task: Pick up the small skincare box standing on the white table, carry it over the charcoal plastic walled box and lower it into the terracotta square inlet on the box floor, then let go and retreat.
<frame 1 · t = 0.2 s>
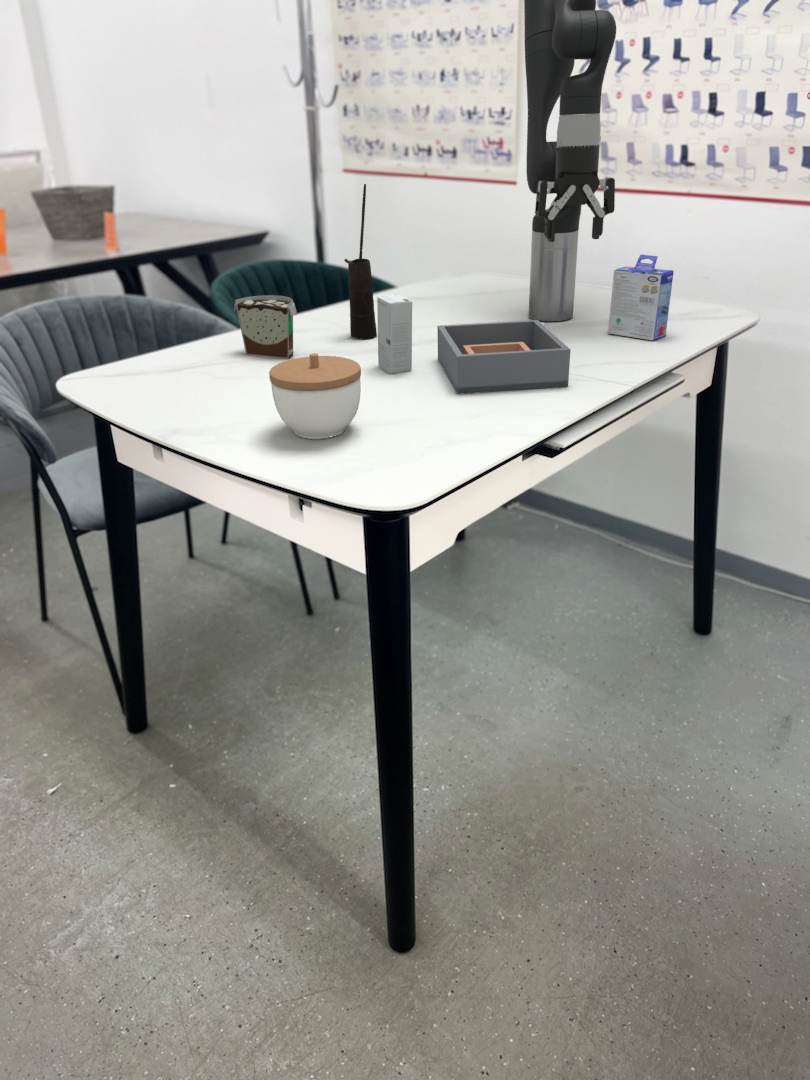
hand: (573, 240, 153), 17 cm above the table, tool pointing down, fingers open, 8 cm apart
food container: (276, 353, 155), on the table
walled box: (499, 372, 140), on the table
butter churn: (358, 337, 164), on the table
lidded bowl: (320, 431, 118), on the table
ink cartridge box: (636, 336, 159), on the table
skincare box: (396, 369, 144), on the table
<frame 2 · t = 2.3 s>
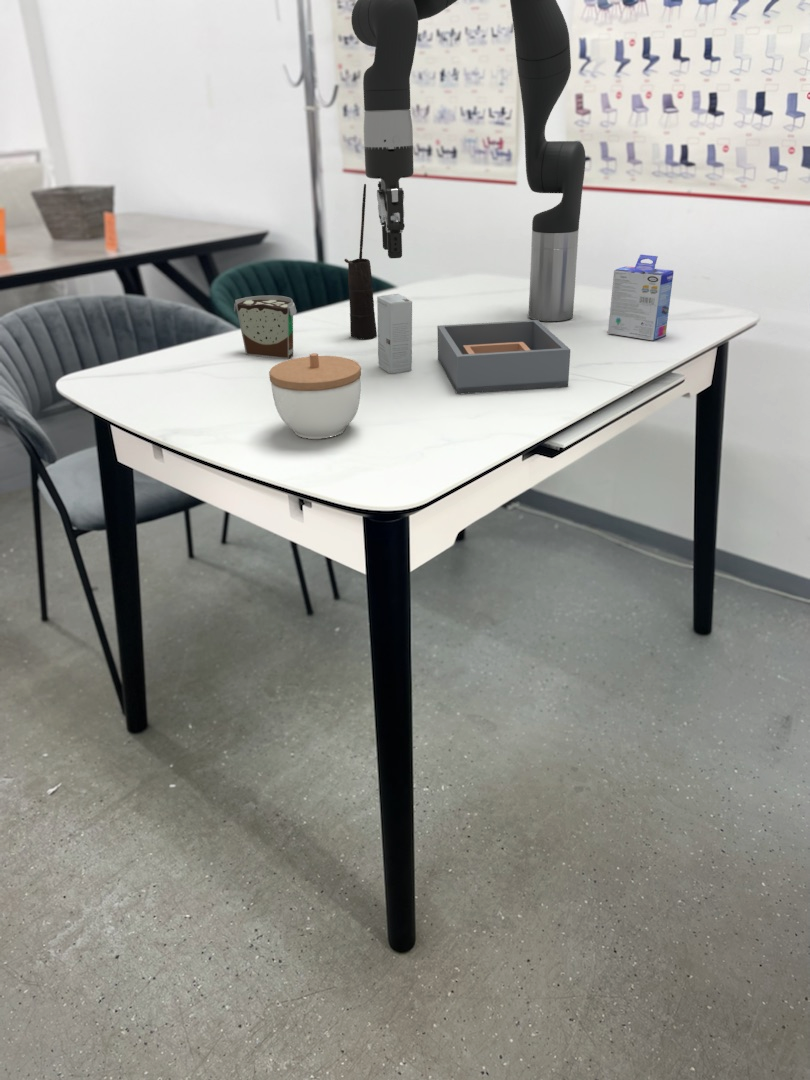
hand: (392, 253, 135), 19 cm above the table, tool pointing down, fingers open, 8 cm apart
nothing on the table moved.
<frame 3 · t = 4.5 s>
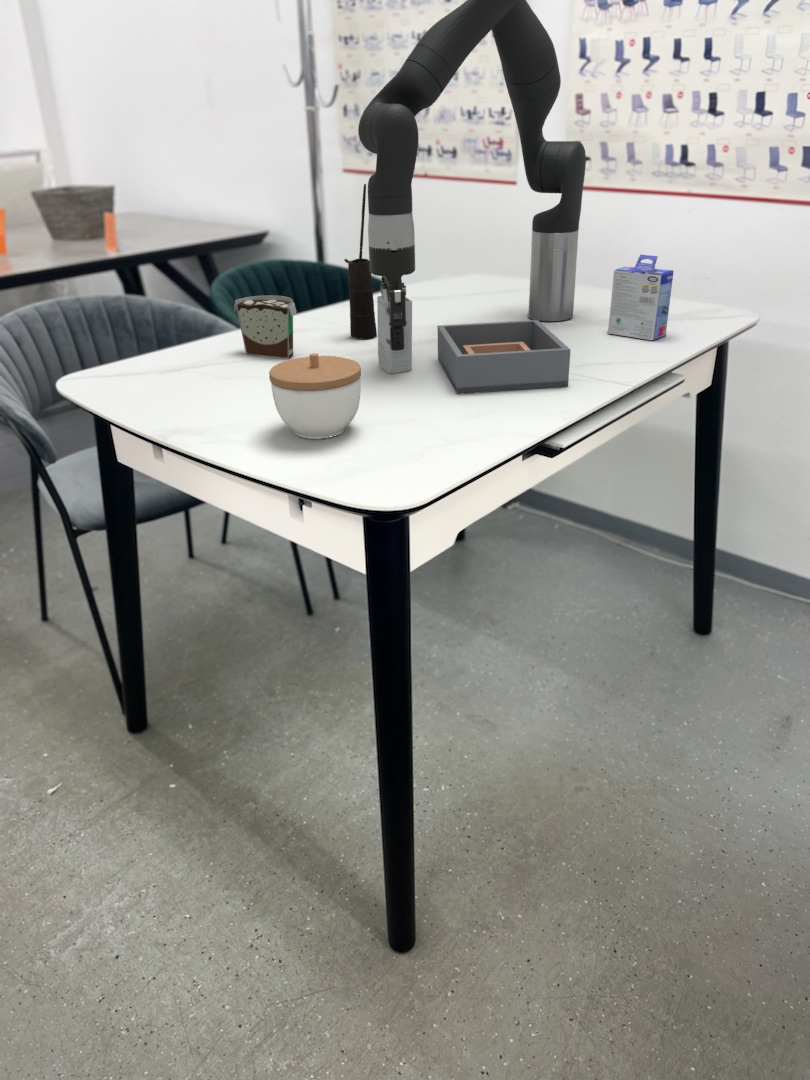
hand: (395, 343, 142), 4 cm above the table, tool pointing down, fingers closed on skincare box, 6 cm apart
skincare box: (396, 369, 144), on the table, touching gripper
everything else where it was.
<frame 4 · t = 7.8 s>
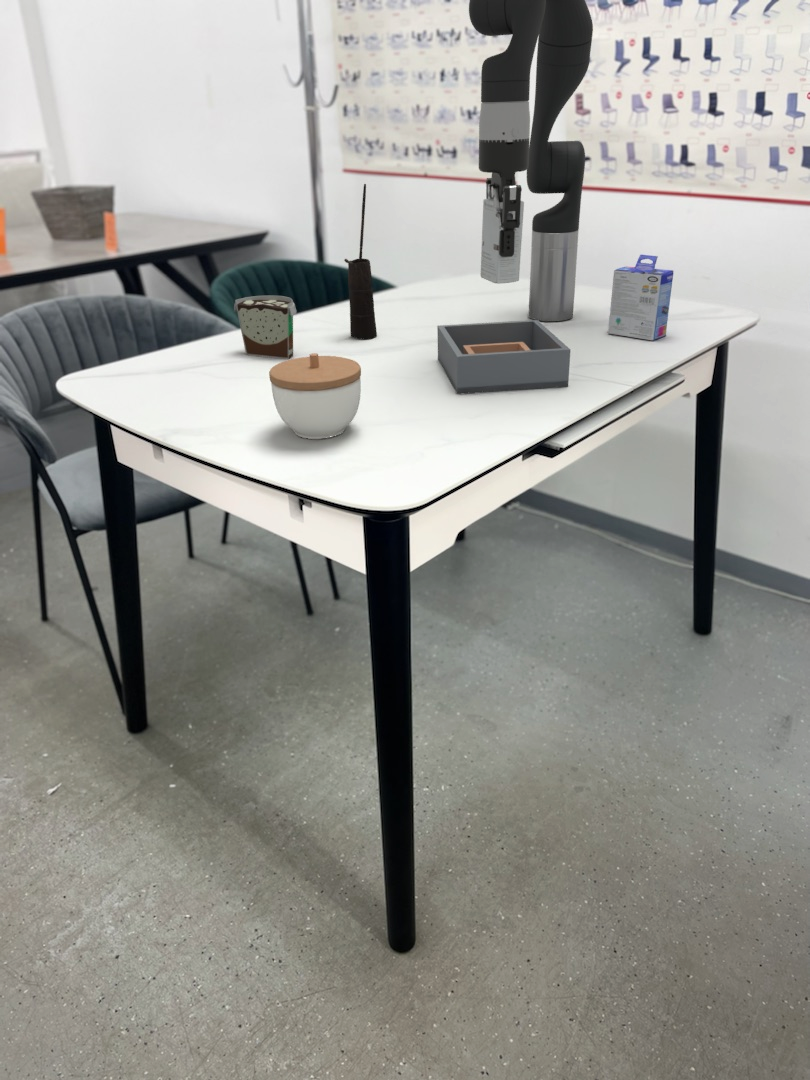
hand: (501, 252, 131), 19 cm above the table, tool pointing down, fingers closed on skincare box, 6 cm apart
skincare box: (500, 281, 133), point 15 cm above the table, touching gripper
everything else where it was.
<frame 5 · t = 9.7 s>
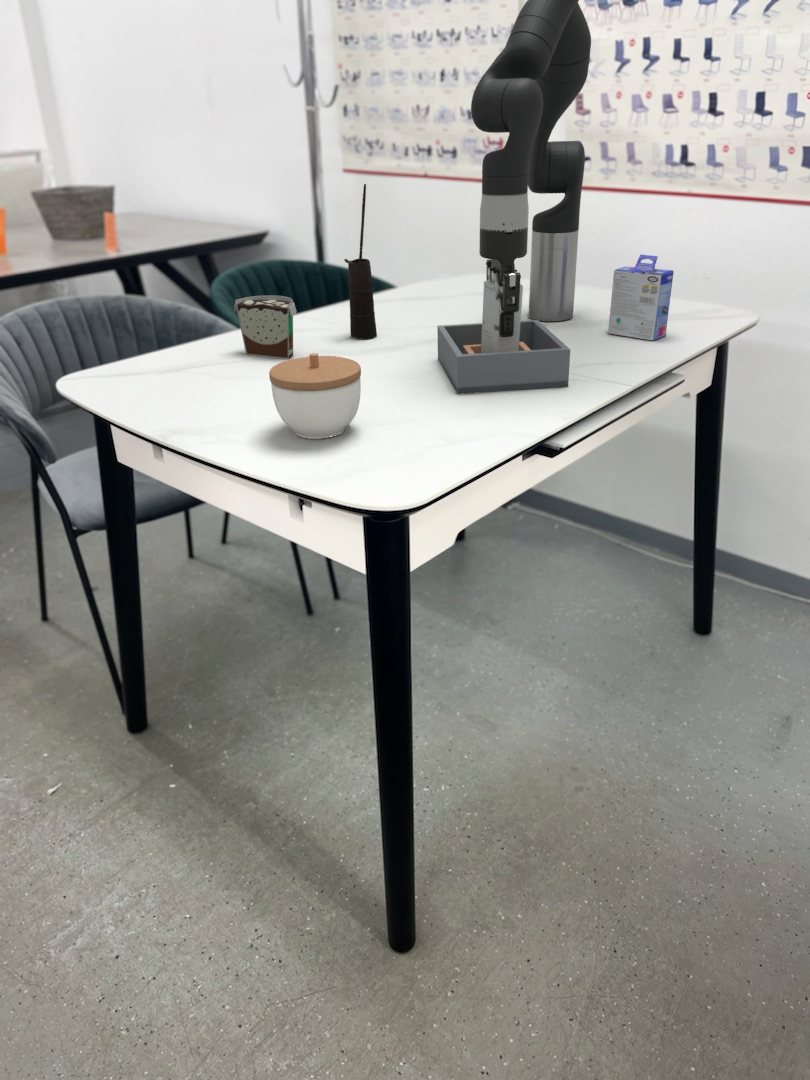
hand: (501, 330, 137), 7 cm above the table, tool pointing down, fingers closed on skincare box, 6 cm apart
skincare box: (500, 357, 139), point 3 cm above the table, touching gripper
everything else where it was.
when the fingers open (6 cm above the table, at t = 11.2 s): skincare box stays where it is, resting on walled box.
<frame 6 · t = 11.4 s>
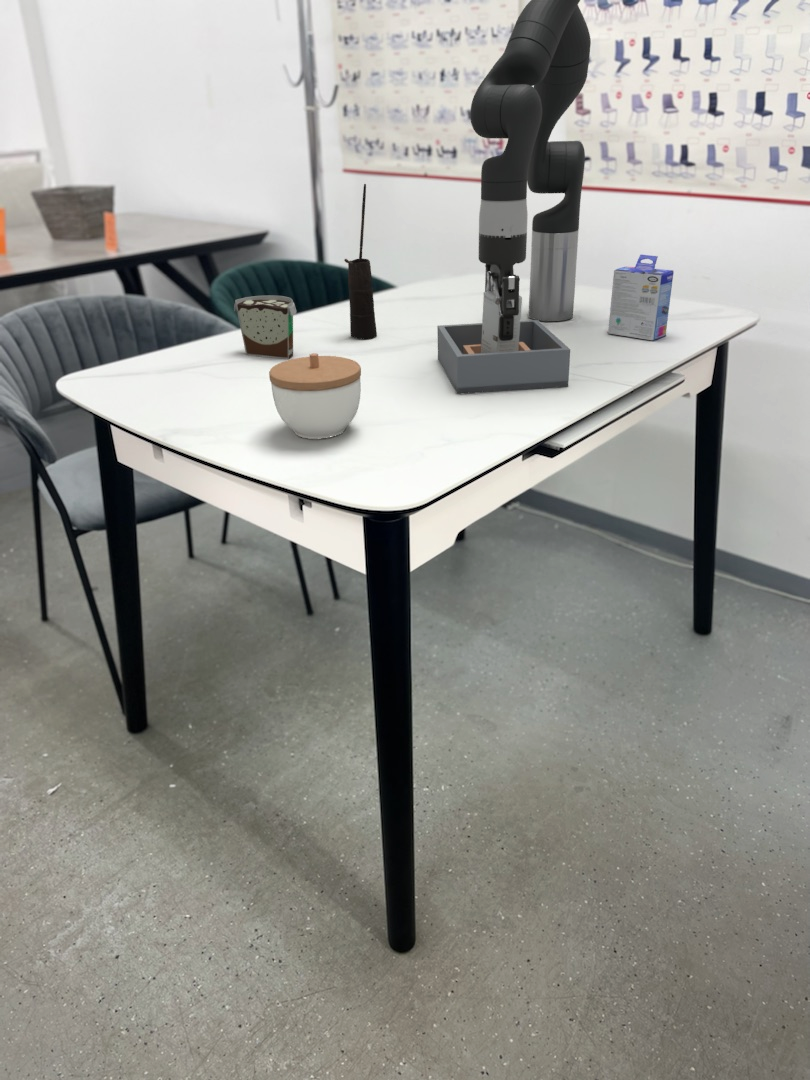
hand: (500, 333, 137), 7 cm above the table, tool pointing down, fingers open, 8 cm apart
skincare box: (499, 367, 140), point 1 cm above the table, touching walled box
everything else where it was.
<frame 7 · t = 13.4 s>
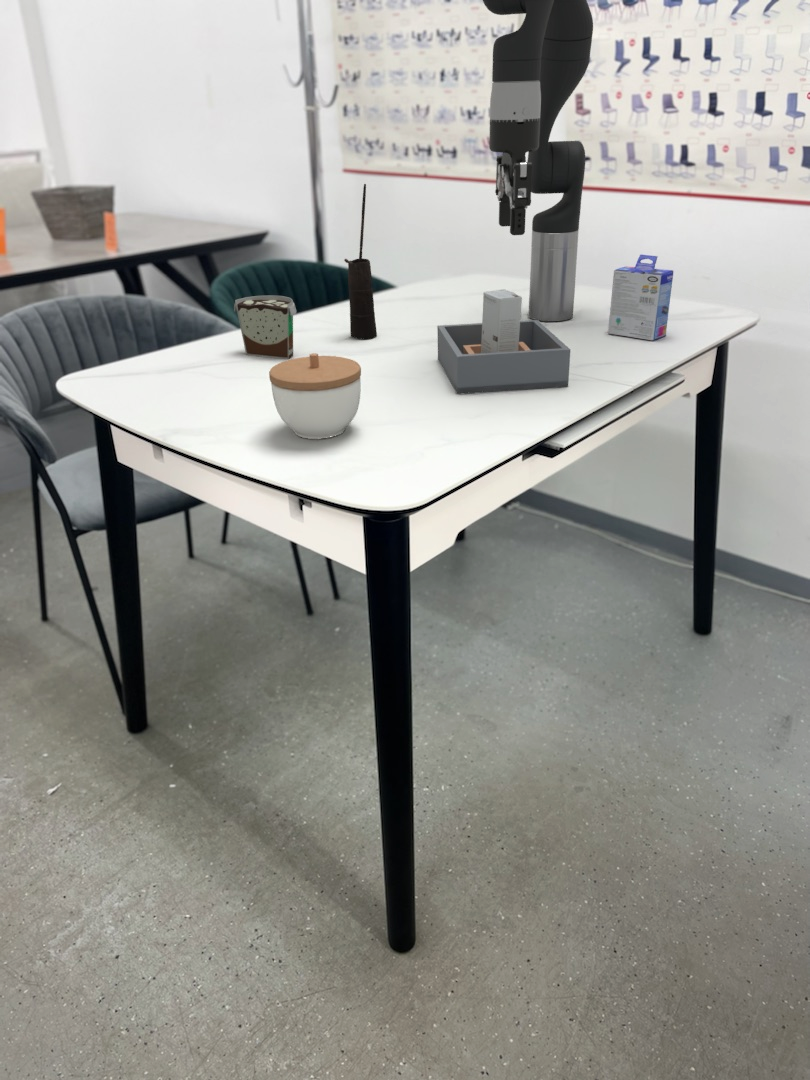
hand: (511, 230, 132), 22 cm above the table, tool pointing down, fingers open, 8 cm apart
nothing on the table moved.
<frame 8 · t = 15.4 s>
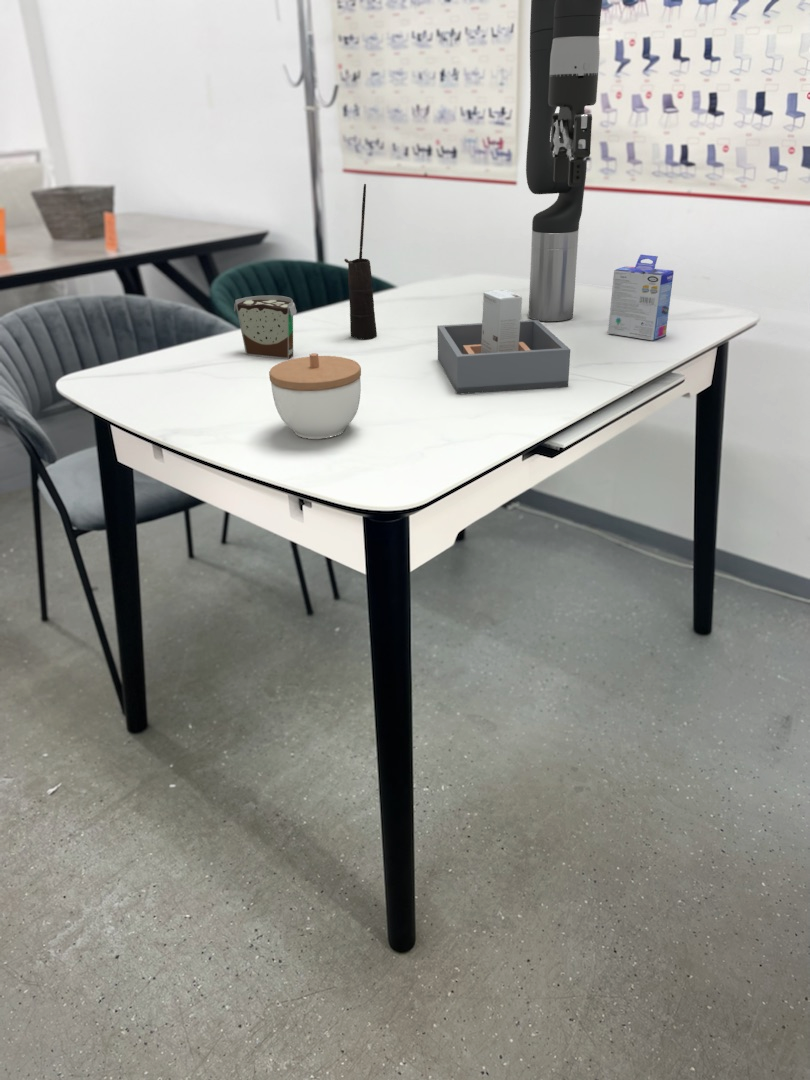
hand: (567, 184, 137), 28 cm above the table, tool pointing down, fingers open, 8 cm apart
nothing on the table moved.
at the end: skincare box 0.1 cm off-centre on the walled box, point 0.8 cm above the walled box's base; skincare box tilted 0°; the gripper is holding nothing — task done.
